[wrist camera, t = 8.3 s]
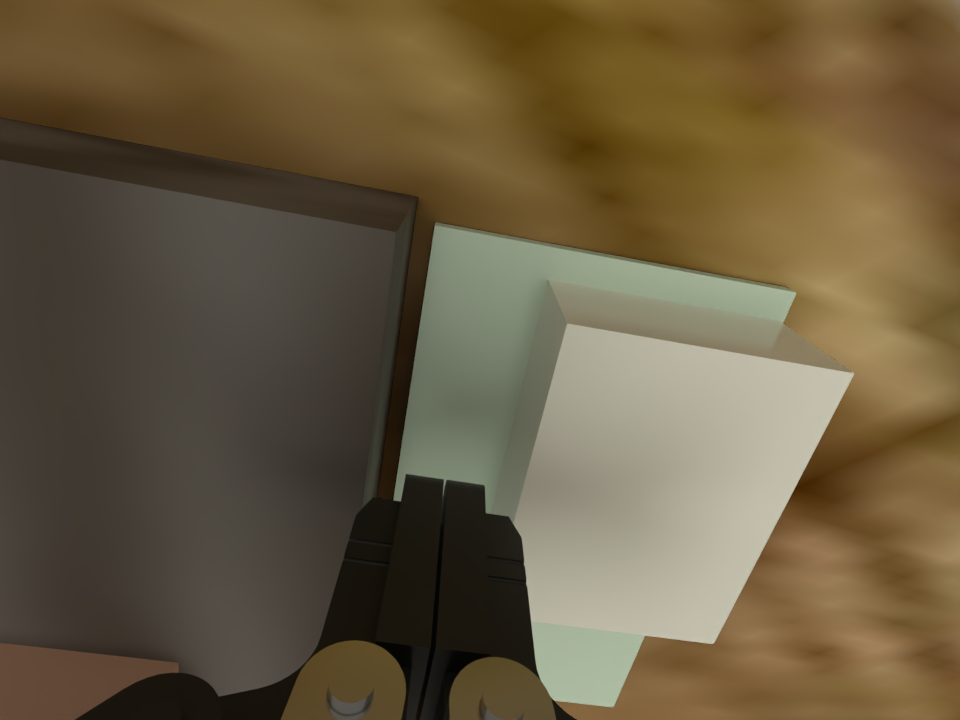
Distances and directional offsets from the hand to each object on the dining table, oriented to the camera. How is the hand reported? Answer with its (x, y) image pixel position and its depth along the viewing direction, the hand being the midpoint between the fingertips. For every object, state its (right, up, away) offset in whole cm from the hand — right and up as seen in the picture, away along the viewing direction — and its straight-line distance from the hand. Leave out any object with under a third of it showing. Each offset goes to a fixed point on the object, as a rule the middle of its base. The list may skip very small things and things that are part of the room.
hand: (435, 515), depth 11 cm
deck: (-8, 0, +5) cm, 10 cm away
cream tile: (+5, 0, +2) cm, 5 cm away
